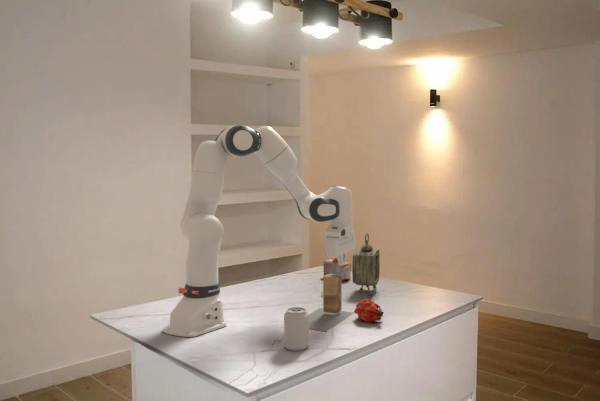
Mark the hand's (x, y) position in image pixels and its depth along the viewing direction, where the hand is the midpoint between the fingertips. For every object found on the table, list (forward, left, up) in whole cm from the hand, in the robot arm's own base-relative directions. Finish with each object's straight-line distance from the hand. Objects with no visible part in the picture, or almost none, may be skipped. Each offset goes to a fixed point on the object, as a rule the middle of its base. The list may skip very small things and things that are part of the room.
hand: (341, 265), depth 213 cm
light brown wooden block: (-8, 0, -16) cm, 18 cm away
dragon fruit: (-11, -15, -17) cm, 25 cm away
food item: (+45, +22, -17) cm, 53 cm away
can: (-45, -5, -17) cm, 49 cm away
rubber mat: (-16, 0, -17) cm, 23 cm away
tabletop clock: (+28, +1, -17) cm, 33 cm away
